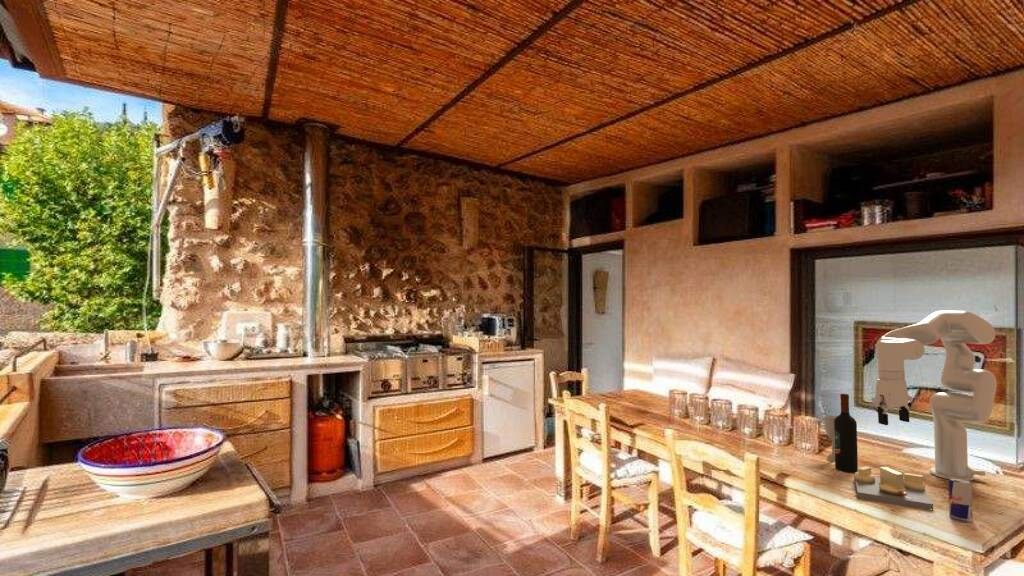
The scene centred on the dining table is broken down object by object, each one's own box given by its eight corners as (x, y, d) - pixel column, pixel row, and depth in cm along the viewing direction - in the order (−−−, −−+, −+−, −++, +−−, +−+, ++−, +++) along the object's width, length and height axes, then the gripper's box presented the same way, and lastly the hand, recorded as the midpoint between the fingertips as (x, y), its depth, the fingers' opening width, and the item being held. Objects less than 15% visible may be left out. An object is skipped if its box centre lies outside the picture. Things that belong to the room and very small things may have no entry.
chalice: (838, 457, 215) (837, 415, 215) (847, 462, 208) (846, 419, 208) (820, 457, 215) (819, 415, 216) (829, 462, 209) (828, 418, 209)
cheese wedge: (874, 487, 174) (873, 467, 174) (893, 487, 175) (892, 466, 175) (895, 497, 165) (894, 476, 165) (915, 497, 166) (914, 475, 166)
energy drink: (944, 516, 156) (943, 477, 157) (960, 515, 157) (959, 476, 157) (961, 523, 151) (960, 483, 151) (977, 522, 152) (976, 483, 152)
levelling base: (922, 490, 178) (921, 472, 178) (933, 510, 160) (932, 490, 161) (854, 479, 188) (853, 462, 188) (857, 498, 171) (857, 479, 171)
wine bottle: (851, 474, 194) (849, 396, 195) (831, 468, 201) (829, 393, 202) (862, 471, 198) (860, 394, 198) (842, 465, 204) (840, 391, 205)
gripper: (899, 371, 185) (902, 417, 185) (862, 375, 181) (865, 422, 181) (920, 374, 178) (923, 422, 178) (882, 378, 174) (885, 428, 173)
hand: (894, 422), depth 179 cm, fingers open, 9 cm apart
